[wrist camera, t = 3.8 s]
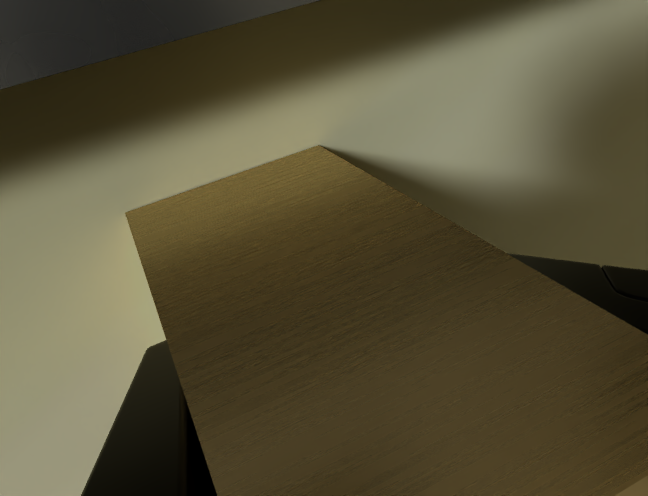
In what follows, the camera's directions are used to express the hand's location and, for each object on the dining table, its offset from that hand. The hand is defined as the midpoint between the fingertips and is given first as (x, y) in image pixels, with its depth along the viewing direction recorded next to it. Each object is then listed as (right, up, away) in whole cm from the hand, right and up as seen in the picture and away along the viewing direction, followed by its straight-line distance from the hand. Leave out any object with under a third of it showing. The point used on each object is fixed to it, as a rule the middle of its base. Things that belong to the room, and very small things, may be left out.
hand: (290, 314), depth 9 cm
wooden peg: (-1, +1, +2) cm, 2 cm away
